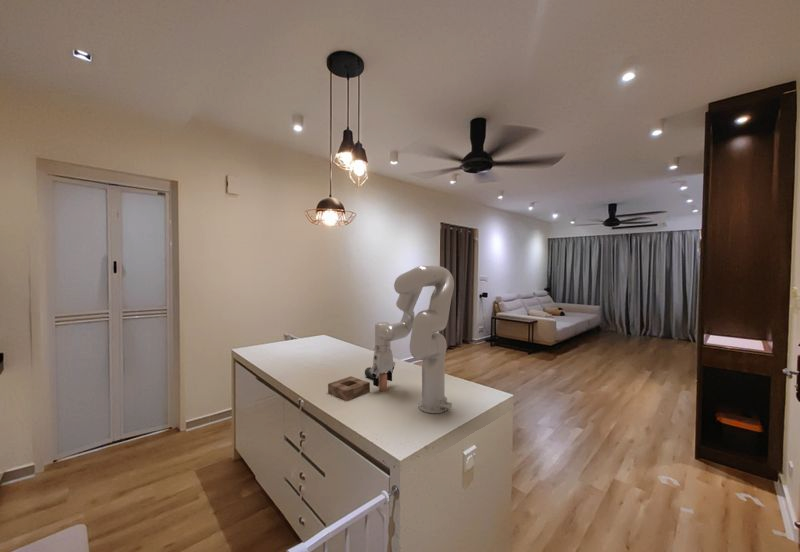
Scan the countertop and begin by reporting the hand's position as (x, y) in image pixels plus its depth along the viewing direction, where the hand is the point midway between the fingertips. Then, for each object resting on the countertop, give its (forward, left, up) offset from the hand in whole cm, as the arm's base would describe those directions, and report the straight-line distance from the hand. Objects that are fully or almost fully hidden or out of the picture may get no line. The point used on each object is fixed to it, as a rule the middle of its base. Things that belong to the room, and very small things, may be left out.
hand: (382, 383), depth 152 cm
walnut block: (+10, +13, -3) cm, 17 cm away
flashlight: (+13, -8, -4) cm, 16 cm away
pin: (0, 0, -3) cm, 3 cm away
